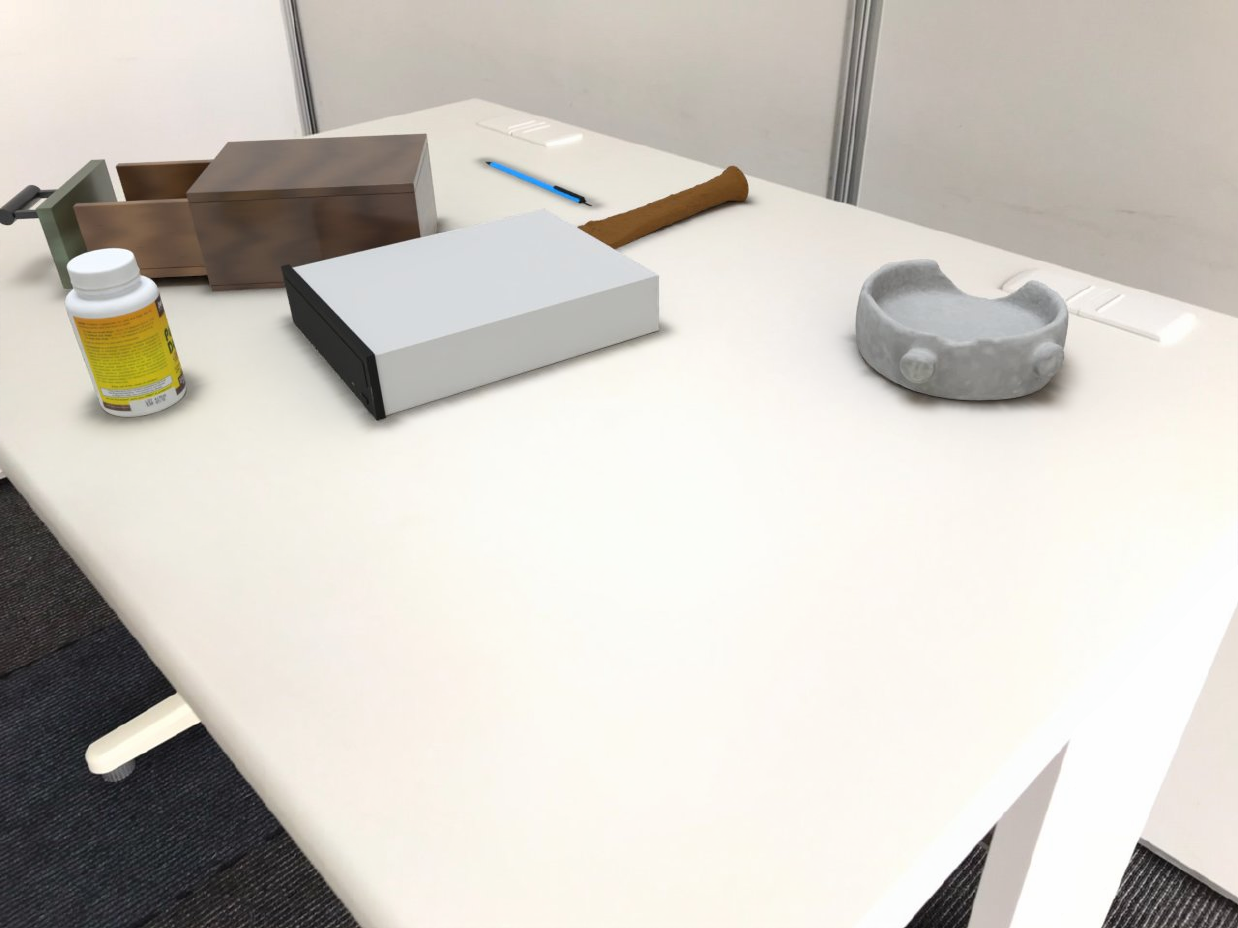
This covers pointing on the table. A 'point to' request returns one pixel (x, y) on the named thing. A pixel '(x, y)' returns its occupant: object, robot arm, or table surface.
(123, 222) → the drawer
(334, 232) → the cabinet
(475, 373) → the disc drive
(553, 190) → the pen
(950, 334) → the dish
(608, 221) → the primitive tool
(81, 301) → the supplement bottle
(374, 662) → the table surface
